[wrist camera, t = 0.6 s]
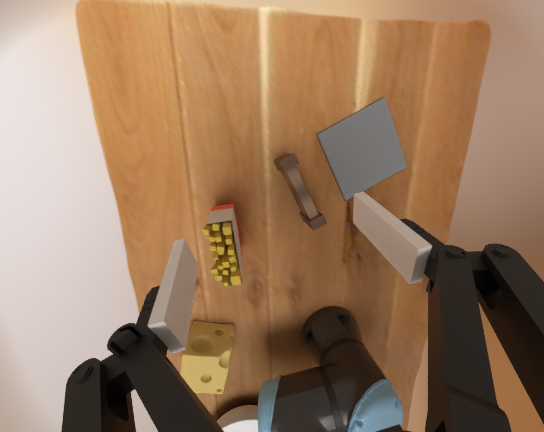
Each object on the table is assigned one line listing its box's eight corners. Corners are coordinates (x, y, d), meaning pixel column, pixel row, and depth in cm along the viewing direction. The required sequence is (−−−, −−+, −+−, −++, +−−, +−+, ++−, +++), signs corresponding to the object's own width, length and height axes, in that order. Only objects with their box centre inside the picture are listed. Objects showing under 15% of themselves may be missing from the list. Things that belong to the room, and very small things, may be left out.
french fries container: (221, 250, 49) (212, 301, 32) (212, 204, 46) (196, 231, 29) (241, 247, 50) (243, 295, 33) (234, 201, 47) (231, 226, 30)
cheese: (234, 323, 55) (233, 358, 45) (225, 357, 57) (223, 398, 47) (191, 318, 53) (181, 353, 43) (184, 354, 55) (172, 395, 45)
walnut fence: (315, 214, 50) (326, 223, 44) (303, 220, 50) (313, 230, 44) (286, 154, 46) (294, 153, 39) (273, 161, 46) (279, 162, 39)
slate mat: (405, 166, 50) (407, 166, 50) (344, 200, 50) (345, 200, 50) (383, 97, 46) (385, 96, 45) (316, 134, 46) (317, 134, 45)
